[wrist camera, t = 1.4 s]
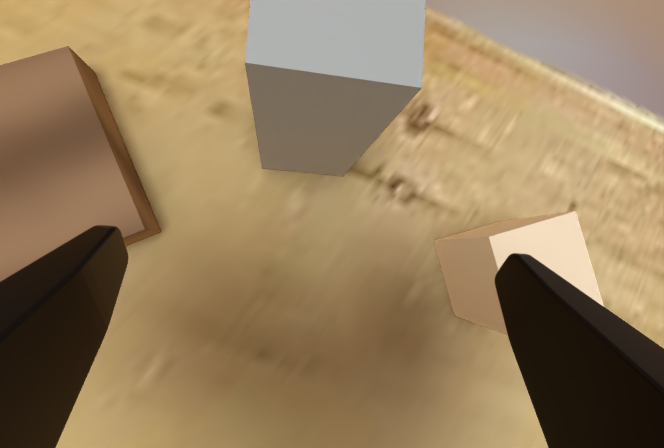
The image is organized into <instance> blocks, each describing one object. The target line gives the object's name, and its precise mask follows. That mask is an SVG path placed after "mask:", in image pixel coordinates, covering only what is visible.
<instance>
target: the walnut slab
mask: <svg viewBox="0 0 664 448" xmlns="http://www.w3.org/2000/svg"><path fill="white" fill-rule="evenodd" d="M95 225H108V226H116V227H118V228H119V229H120V231H121V233H122V236H123V240H124V243H125V246H127V245H129V244H132V243H135V242H137V241H140V240H142V239H145V238H147V237H150V236H153V235H155V234H158V233H160V232H161V230H160V227H159V225H158V222H157V220H156V218H155V215H154V213H153V210H152V208H151V206H150V203H149V201H148V199H147V196H146V194H145V191H144V189H143V187H142V184H141V182H140V179H139V177H138V175H137V172H136V170H135V167H134V165H133V163H132V160H131V158H130V156H129V153H128V151H127V148H126V146H125V144H124V141H123V139H122V136H121V134H120V132H119V129H118V127H117V124H116V122H115V120H114V117H113V115H112V113H111V110H110V108H109V105H108V103H107V101H106V98H105V96H104V93H103V91H102V89H101V86H100V84H99V82H98V79H97V77H96V74H95V72H94V71H93V70H92V69H91V68H90V67H89V66H88V65H87V64H86V63H85V62H84V61H83V60H82V59H81V58H80V57H79V56H78V55H77V54H76V53H75V52H74V51H73V50H72V49H71V48H69V47H68V46H67V47H64V48H60V49H57V50H53V51H49V52H46V53H42V54H39V55H35V56H32V57H28V58H25V59H21V60H18V61H14V62H10V63H7V64H3V65H0V281H2V280H4V279H5V278H7V277H9V276H10V275H12V274H14V273H15V272H17V271H19V270H20V269H22V268H24V267H25V266H27V265H29V264H31V263H32V262H34V261H36V260H37V259H39V258H41V257H42V256H44V255H46V254H47V253H49V252H51V251H52V250H54V249H56V248H57V247H59V246H61V245H62V244H64V243H66V242H67V241H69V240H71V239H73V238H74V237H76V236H78V235H79V234H81V233H83V232H84V231H86V230H88V229H89V228H91V227H93V226H95Z"/></svg>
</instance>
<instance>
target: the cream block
mask: <svg viewBox="0 0 664 448" xmlns="http://www.w3.org/2000/svg"><path fill="white" fill-rule="evenodd" d="M434 244H435V248H436V251H437V255H438V258H439V262H440V265H441V269H442V273H443V276H444V280H445V283H446V287H447V290H448V294H449V297H450V301H451V305H452V308H453V312H454V315H455V316H457V317H459V318H462V319H465V320H468V321H470V322H473V323H476V324H479V325H482V326H484V327H487V328H490V329H493V330H495V331H498V332H501V333H504V334H506V335H508V334H507V330H506V326H505V322H504V318H503V315H502V311H501V307H500V303H499V299H498V295H497V291H496V287H495V275H496V273H497V272H498V270H499V269H500V267H501V266H502V264H503V263H504V262H505V260H506V259H507V257H508V256H509V255H510V254H512V253H521V254H528V255H531V256H532V257H534V258H535V259H536V260H538V261H539V262H541V263H542V264H544V265H545V266H546V267H548V268H549V269H551V270H552V271H554V272H555V273H556V274H558V275H559V276H561V277H562V278H564V279H565V280H566V281H568V282H569V283H571V284H572V285H574V286H575V287H576V288H578V289H579V290H581V291H582V292H584V293H585V294H586V295H588V296H589V297H591V298H592V299H593V300H595V301H596V302H598V303H599V304H601V305H602V306H603V307H604V305H603V302H602V298H601V295H600V292H599V288H598V285H597V282H596V278H595V275H594V271H593V268H592V265H591V261H590V258H589V255H588V251H587V248H586V244H585V241H584V238H583V234H582V231H581V228H580V224H579V221H578V217H577V214H576V211H573V212H566V213H558V214H551V215H543V216H536V217H528V218H521V219H513V220H506V221H500V222H496V223H493V224H489V225H486V226H482V227H479V228H475V229H472V230H468V231H465V232H462V233H458V234H455V235H451V236H448V237H444V238H441V239H437V240H434Z"/></svg>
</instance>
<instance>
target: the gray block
mask: <svg viewBox="0 0 664 448" xmlns="http://www.w3.org/2000/svg"><path fill="white" fill-rule="evenodd" d="M424 22H425V0H250V11H249V22H248V33H247V44H246V56H245V66H246V72H247V79H248V85H249V91H250V97H251V103H252V109H253V115H254V121H255V127H256V134H257V140H258V146H259V152H260V158H261V164H262V168H263V169H273V170H283V171H294V172H304V173H314V174H324V175H334V176H344V175H345V174H346V172H347V171H348V170H349V169H350V168H351V167H352V166H353V165H354V163H355V162H356V161H357V160H358V159H359V158H360V157H361V156H362V154H363V153H364V152H365V151H366V150H367V149H368V148H369V147H370V145H371V144H372V143H373V142H374V141H375V140H376V139H377V138H378V136H379V135H380V134H381V133H382V132H383V131H384V130H385V129H386V128H387V126H388V125H389V124H390V123H391V122H392V121H393V120H394V119H395V117H396V116H397V115H398V114H399V113H400V112H401V111H402V110H403V108H404V107H405V106H406V105H407V104H408V103H409V102H410V101H411V99H412V98H413V97H414V96H415V95H416V94H417V93H418V92H419V91H420V89H421V88H422V71H423V47H424Z"/></svg>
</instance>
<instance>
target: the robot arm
mask: <svg viewBox="0 0 664 448" xmlns="http://www.w3.org/2000/svg"><path fill="white" fill-rule="evenodd" d="M127 264H128V253H127V249H126V246H125V243H124V240H123V236H122V233H121V231H120V229H119V228H118V227H116V226H108V225H95V226H93V227H91V228H89V229H88V230H86V231H84V232H83V233H81V234H79V235H78V236H76V237H74V238H73V239H71V240H69V241H67V242H66V243H64V244H62V245H61V246H59V247H57V248H56V249H54V250H52V251H51V252H49V253H47V254H46V255H44V256H42V257H41V258H39V259H37V260H36V261H34V262H32V263H31V264H29V265H27V266H25V267H24V268H22V269H20V270H19V271H17V272H15V273H14V274H12V275H10V276H9V277H7V278H5V279H4V280H2V281H0V448H55V447H56V445H57V443H58V441H59V438H60V436H61V434H62V431H63V429H64V427H65V425H66V422H67V420H68V418H69V416H70V413H71V411H72V409H73V407H74V404H75V402H76V400H77V398H78V395H79V393H80V391H81V388H82V386H83V384H84V382H85V379H86V377H87V375H88V373H89V370H90V368H91V366H92V364H93V361H94V359H95V357H96V354H97V352H98V350H99V348H100V345H101V343H102V341H103V339H104V336H105V334H106V331H107V329H108V326H109V323H110V320H111V317H112V313H113V310H114V307H115V304H116V300H117V297H118V294H119V290H120V287H121V284H122V281H123V277H124V274H125V271H126V267H127ZM495 287H496V291H497V295H498V299H499V303H500V307H501V311H502V315H503V318H504V322H505V326H506V330H507V334H508V337H509V341H510V343H511V346H512V349H513V352H514V355H515V357H516V360H517V363H518V366H519V368H520V371H521V374H522V377H523V379H524V382H525V385H526V387H527V390H528V393H529V396H530V398H531V401H532V404H533V407H534V409H535V412H536V415H537V417H538V420H539V423H540V426H541V428H542V431H543V434H544V436H545V439H546V442H547V445H548V447H549V448H664V349H663V348H662V347H660V346H659V345H658V344H656V343H655V342H653V341H652V340H651V339H649V338H648V337H646V336H645V335H643V334H642V333H641V332H639V331H638V330H636V329H635V328H633V327H632V326H631V325H629V324H628V323H626V322H625V321H623V320H622V319H621V318H619V317H618V316H616V315H615V314H613V313H612V312H611V311H609V310H608V309H606V308H605V307H603V306H602V305H601V304H599V303H598V302H596V301H595V300H593V299H592V298H591V297H589V296H588V295H586V294H585V293H584V292H582V291H581V290H579V289H578V288H576V287H575V286H574V285H572V284H571V283H569V282H568V281H566V280H565V279H564V278H562V277H561V276H559V275H558V274H556V273H555V272H554V271H552V270H551V269H549V268H548V267H546V266H545V265H544V264H542V263H541V262H539V261H538V260H536V259H535V258H534V257H532V256H531V255H528V254H521V253H512V254H510V255H509V256H508V257H507V259H506V260H505V262H504V263H503V264H502V266H501V267H500V269H499V270H498V272H497V273H496V275H495Z"/></svg>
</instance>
